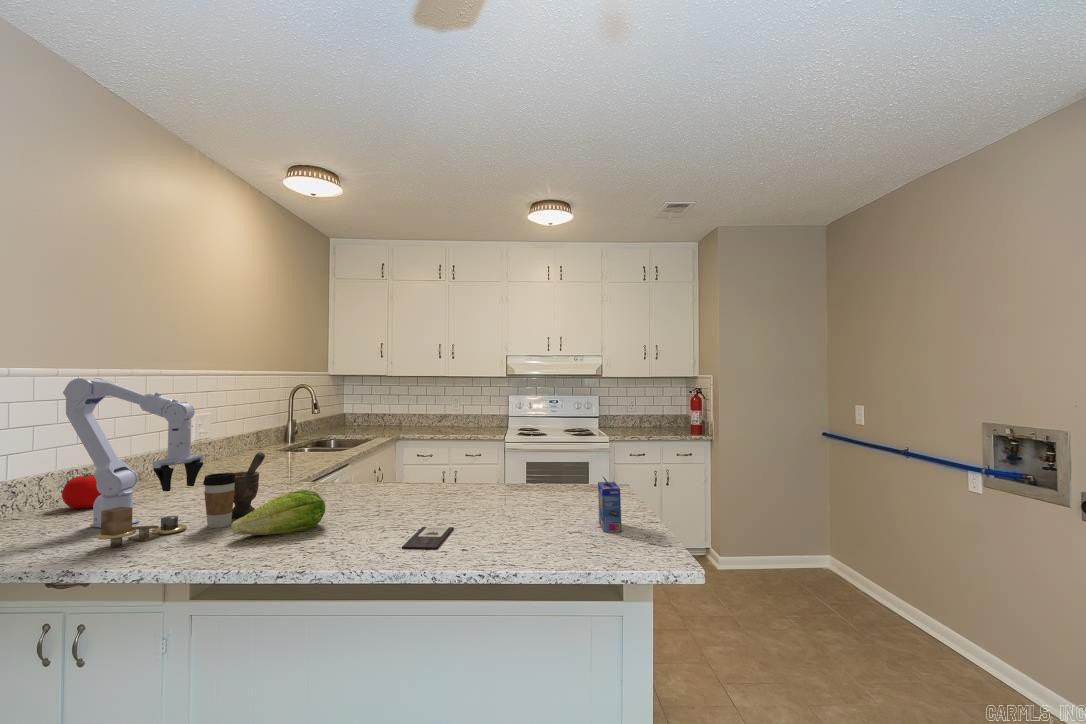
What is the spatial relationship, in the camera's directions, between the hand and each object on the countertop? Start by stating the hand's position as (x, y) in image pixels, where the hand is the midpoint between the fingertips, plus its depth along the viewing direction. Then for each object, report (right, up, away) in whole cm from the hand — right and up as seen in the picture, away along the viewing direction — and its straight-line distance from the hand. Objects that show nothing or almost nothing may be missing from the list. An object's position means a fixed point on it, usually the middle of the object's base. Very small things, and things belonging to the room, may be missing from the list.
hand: (178, 488), depth 161 cm
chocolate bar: (+79, -10, -17) cm, 81 cm away
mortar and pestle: (+17, -10, +7) cm, 21 cm away
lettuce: (+35, -10, -11) cm, 38 cm away
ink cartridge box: (+128, -10, -6) cm, 129 cm away
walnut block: (0, -6, -23) cm, 24 cm away
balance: (+2, -10, -17) cm, 19 cm away
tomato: (-43, -11, +18) cm, 47 cm away
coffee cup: (+15, -10, -4) cm, 18 cm away
